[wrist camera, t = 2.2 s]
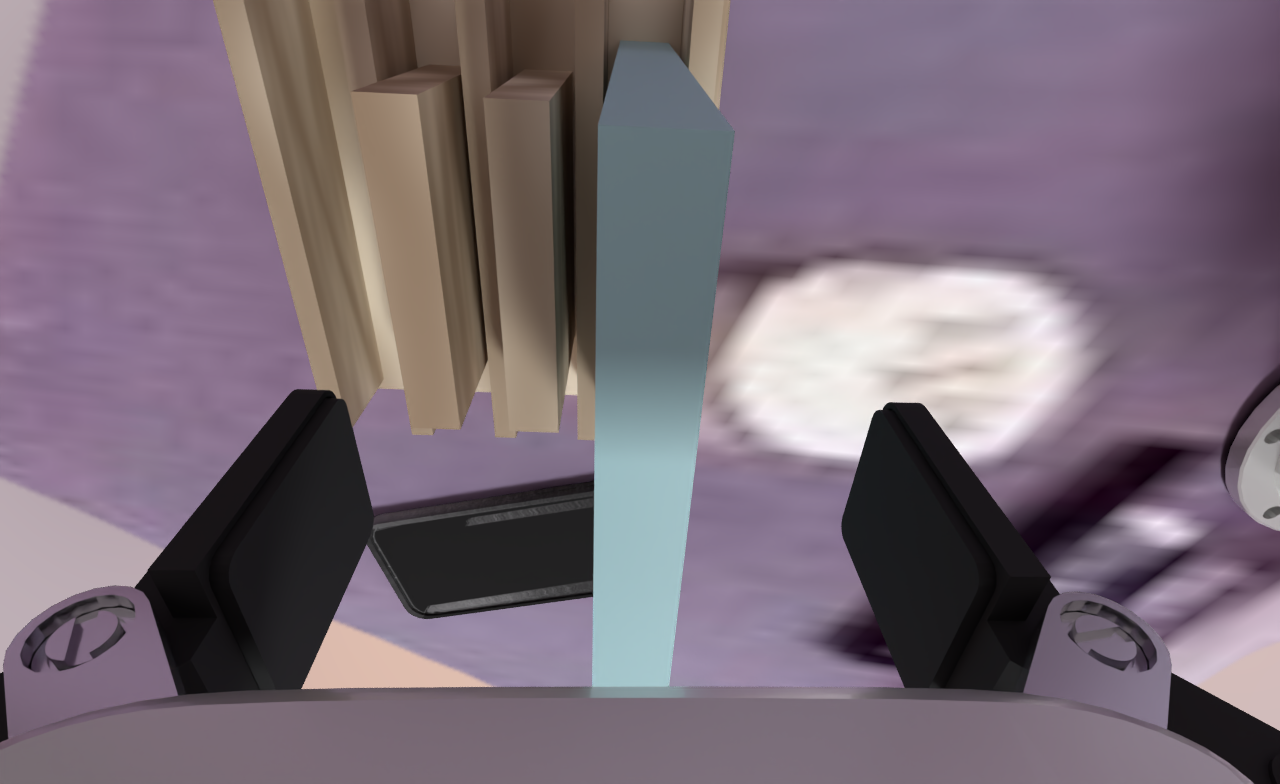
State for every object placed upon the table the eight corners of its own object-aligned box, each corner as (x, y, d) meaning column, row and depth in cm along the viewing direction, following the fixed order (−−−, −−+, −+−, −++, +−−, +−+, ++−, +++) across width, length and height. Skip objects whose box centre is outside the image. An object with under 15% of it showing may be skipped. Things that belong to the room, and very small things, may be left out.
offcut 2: (572, 71, 21) (549, 100, 15) (575, 335, 27) (558, 432, 21) (524, 69, 21) (483, 97, 15) (536, 333, 27) (509, 430, 21)
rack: (728, -26, 21) (753, -31, 17) (686, 384, 29) (696, 453, 25) (268, -51, 20) (168, -64, 16) (361, 373, 29) (312, 441, 25)
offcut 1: (477, 66, 21) (416, 94, 15) (498, 332, 27) (460, 429, 21) (429, 64, 21) (350, 91, 15) (460, 331, 26) (411, 427, 21)
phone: (662, 587, 36) (412, 621, 37) (662, 571, 37) (417, 605, 38) (636, 482, 32) (355, 526, 33) (636, 468, 33) (363, 511, 34)
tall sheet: (668, 42, 21) (735, 131, 7) (649, 358, 27) (665, 716, 14) (620, 40, 21) (598, 125, 7) (612, 357, 27) (592, 715, 14)
